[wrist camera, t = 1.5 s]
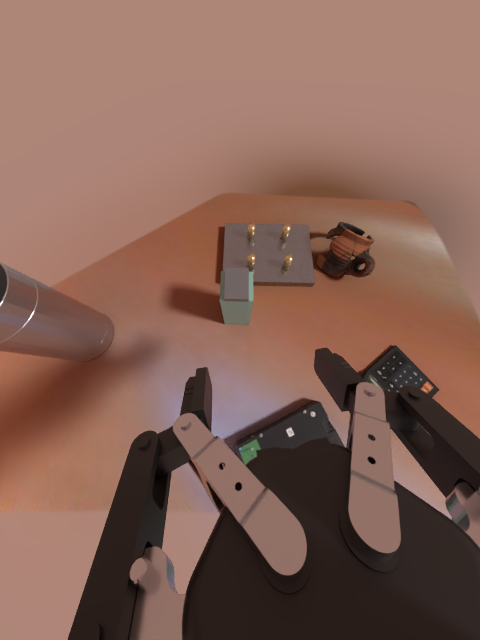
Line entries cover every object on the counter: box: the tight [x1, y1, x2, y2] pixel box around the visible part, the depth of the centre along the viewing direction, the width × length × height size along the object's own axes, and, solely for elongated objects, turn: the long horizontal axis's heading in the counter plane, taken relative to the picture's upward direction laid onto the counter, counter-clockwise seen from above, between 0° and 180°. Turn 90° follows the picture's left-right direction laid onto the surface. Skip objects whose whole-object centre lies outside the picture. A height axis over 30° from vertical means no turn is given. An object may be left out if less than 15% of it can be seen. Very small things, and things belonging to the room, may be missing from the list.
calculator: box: [361, 345, 439, 397], centre depth 32 cm, size 9×12×3 cm
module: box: [220, 268, 253, 325], centre depth 31 cm, size 4×5×12 cm
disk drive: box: [236, 401, 344, 465], centre depth 29 cm, size 10×3×15 cm
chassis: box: [223, 223, 315, 287], centre depth 39 cm, size 18×14×4 cm
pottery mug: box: [316, 222, 375, 277], centre depth 38 cm, size 12×10×8 cm
